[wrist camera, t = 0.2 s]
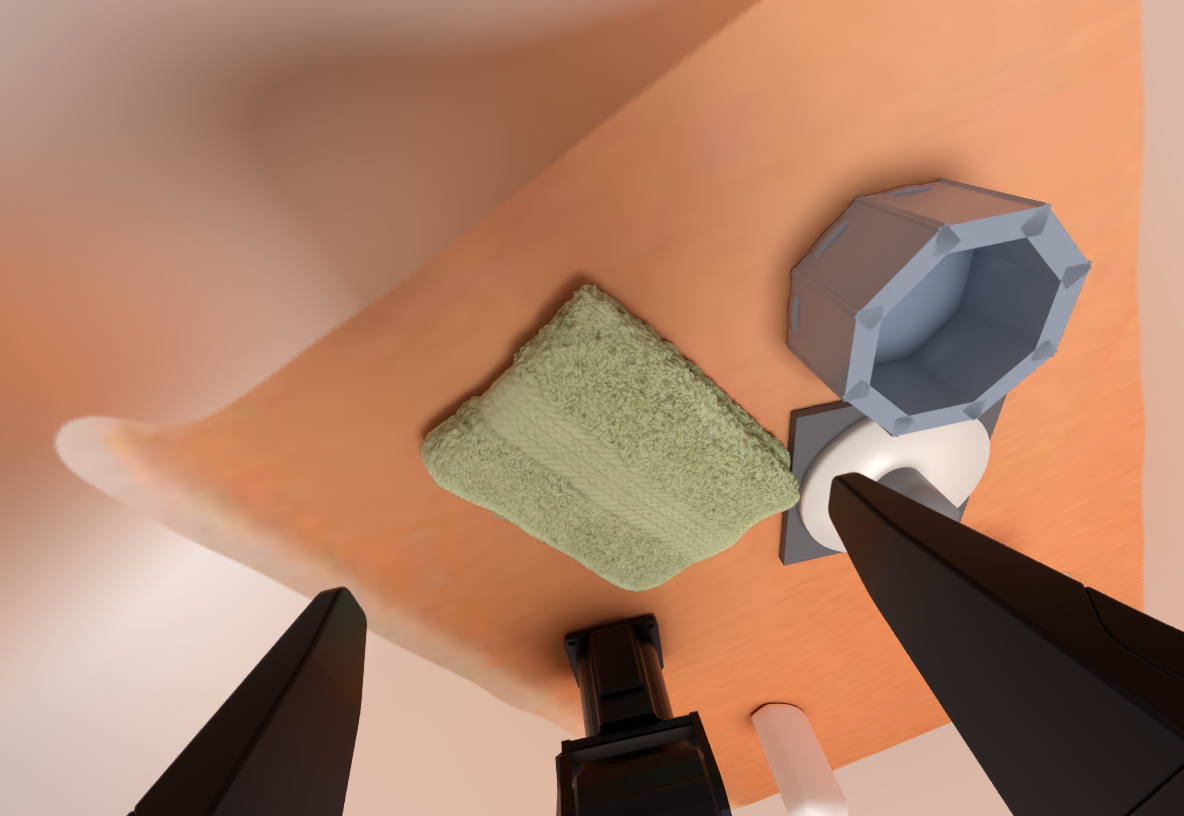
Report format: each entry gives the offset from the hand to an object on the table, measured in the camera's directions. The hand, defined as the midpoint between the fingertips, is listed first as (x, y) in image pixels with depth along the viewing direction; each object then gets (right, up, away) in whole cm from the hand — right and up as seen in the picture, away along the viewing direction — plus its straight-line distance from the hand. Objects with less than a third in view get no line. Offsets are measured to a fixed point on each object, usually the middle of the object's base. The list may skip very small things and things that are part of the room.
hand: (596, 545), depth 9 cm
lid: (+17, -2, +21) cm, 27 cm away
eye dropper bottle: (+17, -25, +37) cm, 48 cm away
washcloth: (+1, 0, +18) cm, 18 cm away
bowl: (+13, +8, +15) cm, 21 cm away
